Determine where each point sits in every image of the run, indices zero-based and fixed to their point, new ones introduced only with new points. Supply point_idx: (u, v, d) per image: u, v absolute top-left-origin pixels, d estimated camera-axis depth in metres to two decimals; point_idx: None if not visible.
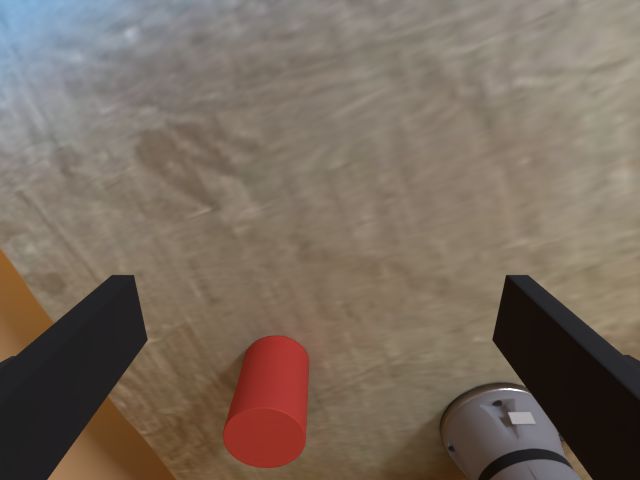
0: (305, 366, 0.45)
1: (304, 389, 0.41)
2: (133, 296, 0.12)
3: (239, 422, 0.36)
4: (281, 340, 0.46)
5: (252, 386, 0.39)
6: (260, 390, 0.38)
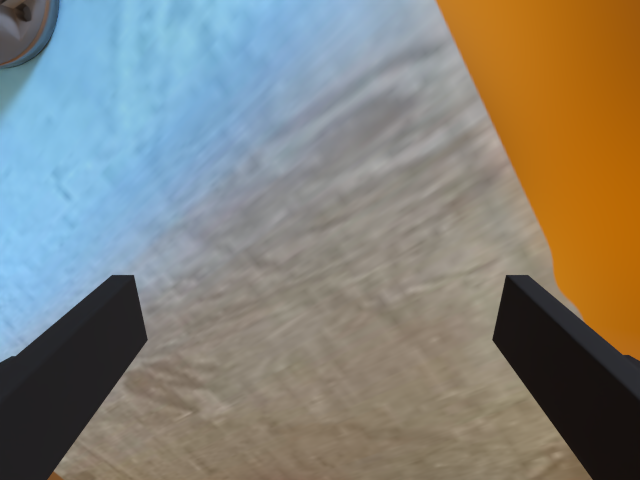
0: None
1: None
2: (134, 296, 0.12)
3: None
4: None
5: None
6: None
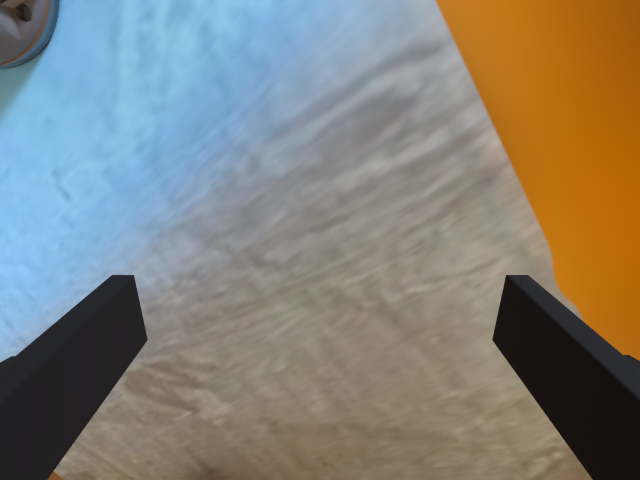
0: None
1: None
2: (134, 296, 0.12)
3: None
4: None
5: None
6: None
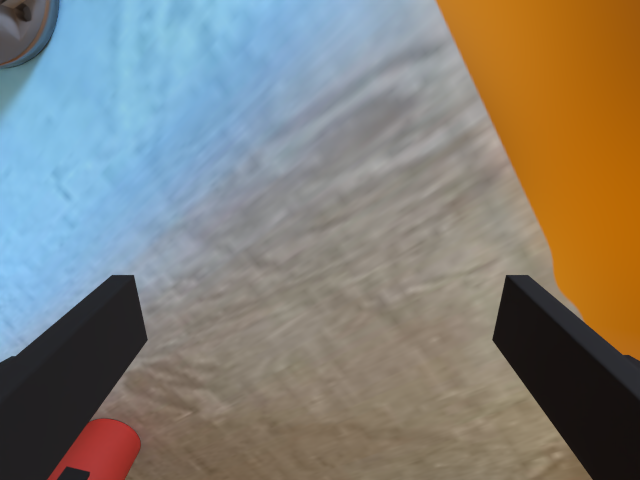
0: (126, 449, 0.49)
1: (111, 476, 0.45)
2: (134, 296, 0.12)
3: None
4: (106, 424, 0.50)
5: None
6: None
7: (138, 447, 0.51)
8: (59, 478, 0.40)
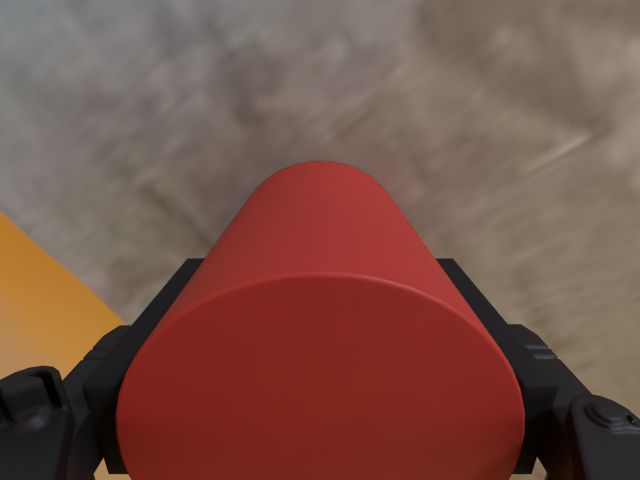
0: None
1: None
2: None
3: (191, 367, 0.07)
4: (337, 165, 0.16)
5: (257, 227, 0.09)
6: (294, 229, 0.08)
7: None
8: None
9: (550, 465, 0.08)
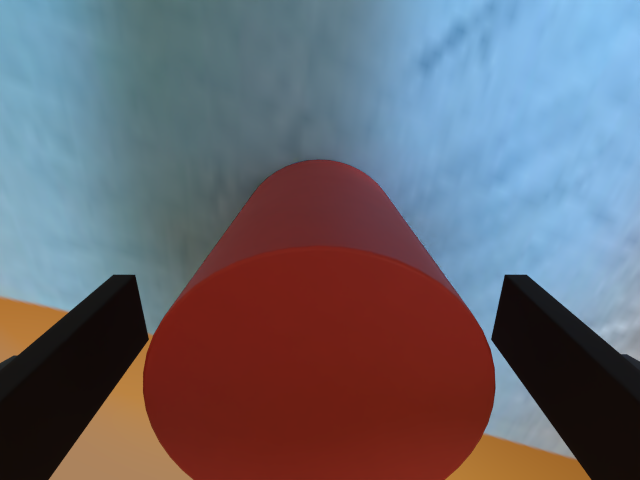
0: None
1: None
2: (135, 296, 0.12)
3: (209, 329, 0.08)
4: (335, 163, 0.17)
5: (264, 215, 0.10)
6: (296, 215, 0.09)
7: None
8: None
9: None
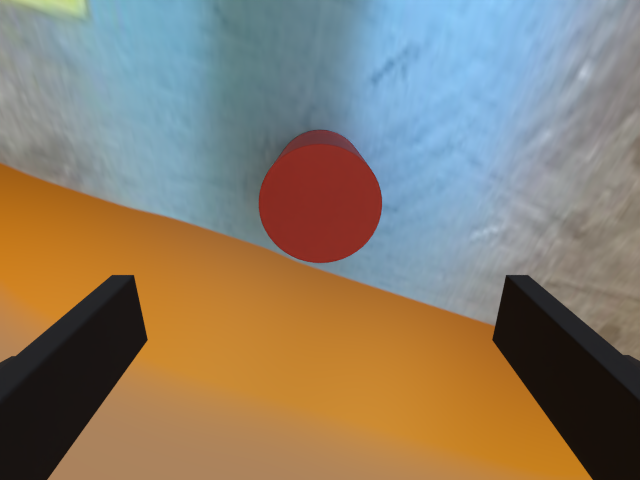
0: None
1: None
2: (133, 296, 0.12)
3: (284, 174, 0.24)
4: (328, 131, 0.33)
5: (298, 143, 0.26)
6: (311, 140, 0.25)
7: None
8: None
9: None
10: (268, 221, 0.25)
